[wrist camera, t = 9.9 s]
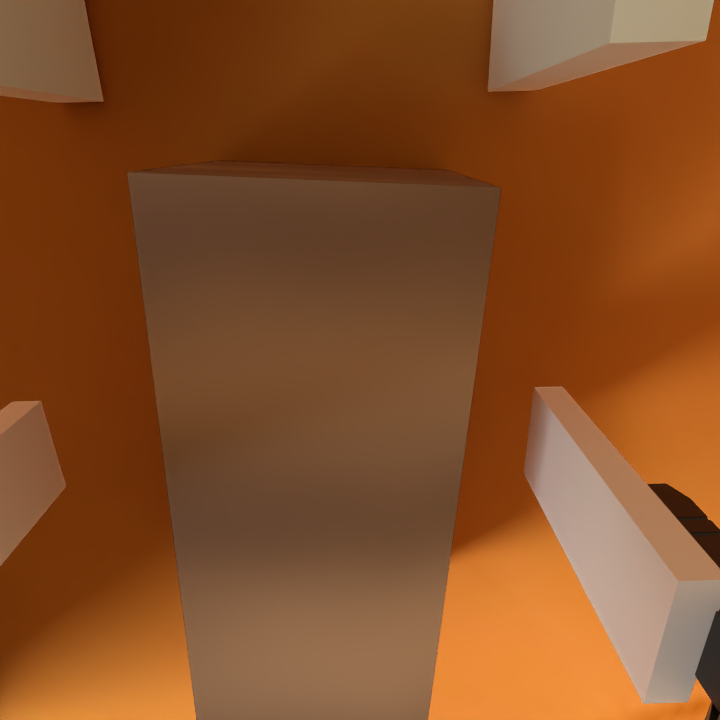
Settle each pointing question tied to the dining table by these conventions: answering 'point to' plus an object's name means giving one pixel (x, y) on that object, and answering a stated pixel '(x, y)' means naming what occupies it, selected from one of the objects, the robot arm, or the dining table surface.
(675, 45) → the socket block
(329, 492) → the walnut bar
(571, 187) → the dining table surface
